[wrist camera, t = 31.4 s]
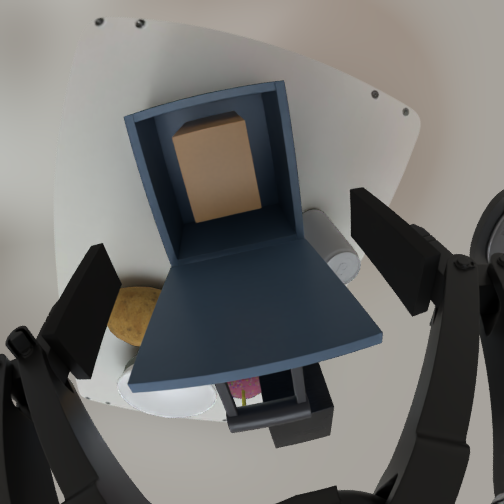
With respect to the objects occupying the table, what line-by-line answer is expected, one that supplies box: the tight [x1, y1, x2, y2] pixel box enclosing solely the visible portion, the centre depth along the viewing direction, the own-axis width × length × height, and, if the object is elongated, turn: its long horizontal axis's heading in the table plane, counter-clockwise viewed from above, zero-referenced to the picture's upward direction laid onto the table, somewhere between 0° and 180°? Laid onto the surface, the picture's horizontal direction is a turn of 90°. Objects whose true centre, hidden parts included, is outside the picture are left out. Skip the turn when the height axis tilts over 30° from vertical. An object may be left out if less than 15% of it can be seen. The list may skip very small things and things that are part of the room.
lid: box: [127, 239, 383, 433], centre depth 24 cm, size 18×15×8 cm
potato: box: [107, 287, 161, 346], centre depth 42 cm, size 10×13×9 cm
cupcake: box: [227, 376, 261, 406], centre depth 52 cm, size 9×8×12 cm
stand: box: [258, 362, 334, 448], centre depth 42 cm, size 8×10×22 cm
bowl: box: [117, 355, 217, 418], centre depth 51 cm, size 19×19×8 cm
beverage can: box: [302, 209, 361, 284], centre depth 37 cm, size 5×5×12 cm
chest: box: [124, 80, 305, 267], centre depth 31 cm, size 17×15×10 cm
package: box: [172, 111, 262, 223], centre depth 29 cm, size 6×8×12 cm
